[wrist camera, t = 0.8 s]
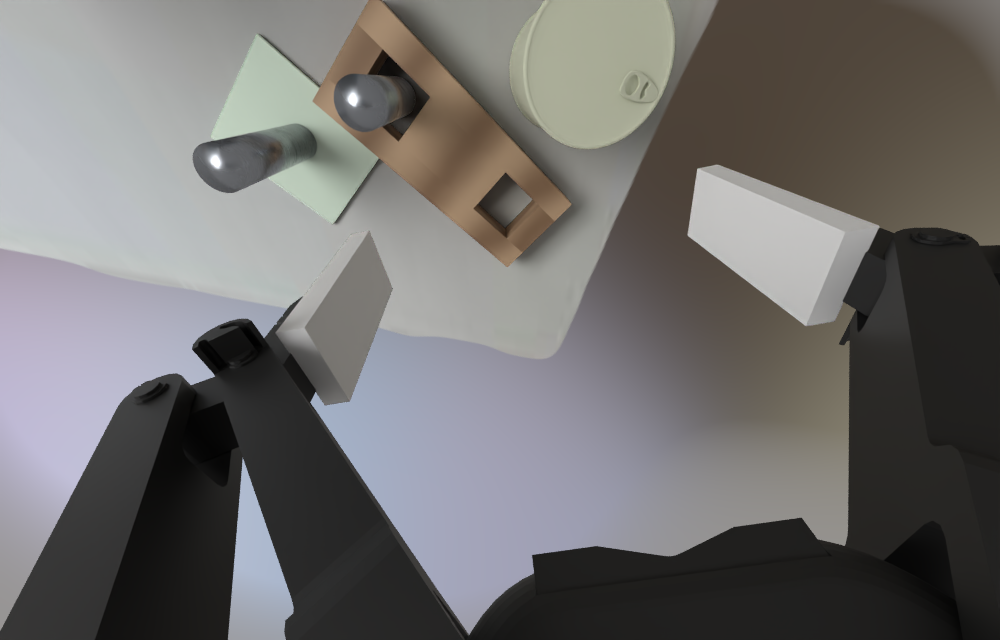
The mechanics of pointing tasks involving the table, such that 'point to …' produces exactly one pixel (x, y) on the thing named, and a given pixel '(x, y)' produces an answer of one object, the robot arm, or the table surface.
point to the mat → (286, 100)
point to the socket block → (444, 138)
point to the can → (592, 67)
